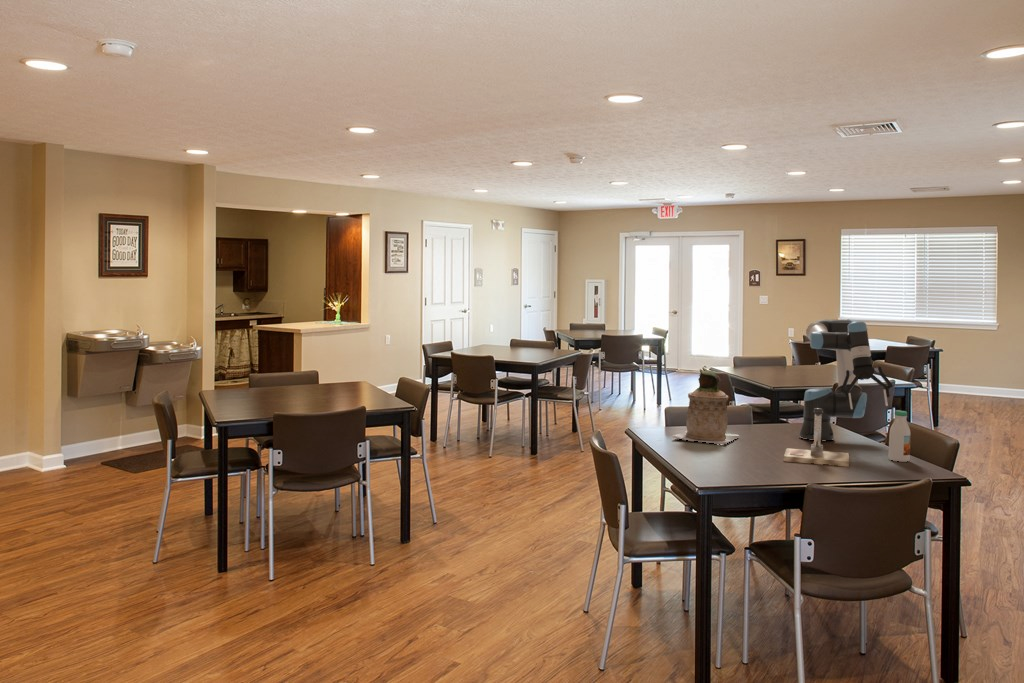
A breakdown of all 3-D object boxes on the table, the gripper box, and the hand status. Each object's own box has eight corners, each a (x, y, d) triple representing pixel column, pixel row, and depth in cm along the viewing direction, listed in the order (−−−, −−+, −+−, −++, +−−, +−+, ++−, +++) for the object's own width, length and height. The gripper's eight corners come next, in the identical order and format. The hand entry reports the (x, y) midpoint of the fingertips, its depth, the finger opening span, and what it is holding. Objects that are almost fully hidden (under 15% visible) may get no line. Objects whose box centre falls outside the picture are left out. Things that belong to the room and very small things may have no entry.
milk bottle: (896, 462, 323) (898, 412, 321) (884, 458, 330) (886, 409, 329) (913, 462, 324) (916, 412, 323) (900, 458, 332) (903, 409, 331)
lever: (812, 453, 326) (813, 409, 325) (812, 451, 329) (814, 407, 328) (821, 454, 324) (822, 409, 323) (821, 452, 328) (823, 408, 326)
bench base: (783, 461, 323) (784, 447, 323) (786, 452, 340) (786, 439, 339) (849, 466, 314) (849, 452, 314) (848, 458, 331) (848, 444, 330)
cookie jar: (725, 446, 352) (728, 373, 350) (671, 440, 364) (673, 369, 362) (740, 438, 373) (742, 368, 371) (688, 432, 386) (690, 365, 384)
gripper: (830, 359, 346) (837, 408, 341) (894, 352, 337) (902, 402, 331) (830, 363, 353) (837, 411, 347) (893, 355, 344) (901, 405, 338)
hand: (869, 407), depth 339 cm, fingers open, 13 cm apart
